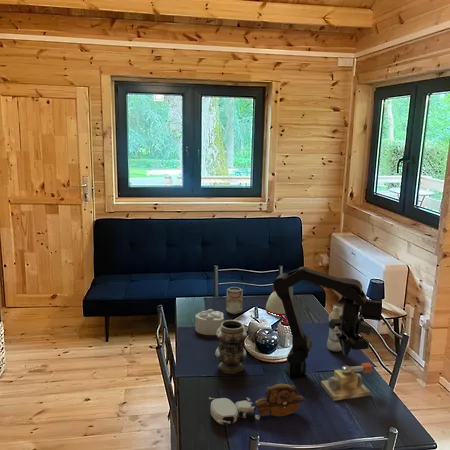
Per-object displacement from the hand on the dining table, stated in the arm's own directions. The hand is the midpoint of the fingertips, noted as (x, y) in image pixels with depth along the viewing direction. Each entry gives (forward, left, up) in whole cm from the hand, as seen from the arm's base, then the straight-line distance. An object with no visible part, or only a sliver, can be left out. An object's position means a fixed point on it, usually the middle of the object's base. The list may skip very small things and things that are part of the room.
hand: (345, 355), depth 159 cm
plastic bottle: (+10, +24, -12) cm, 29 cm away
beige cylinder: (-21, +72, -12) cm, 76 cm away
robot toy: (-44, -9, -12) cm, 47 cm away
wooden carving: (-29, -12, -12) cm, 34 cm away
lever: (+2, -4, -5) cm, 7 cm away
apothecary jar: (-37, +20, -12) cm, 44 cm away
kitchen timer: (+2, +68, -12) cm, 69 cm away
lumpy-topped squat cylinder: (-38, +54, -12) cm, 68 cm away
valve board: (-1, -4, -12) cm, 12 cm away
